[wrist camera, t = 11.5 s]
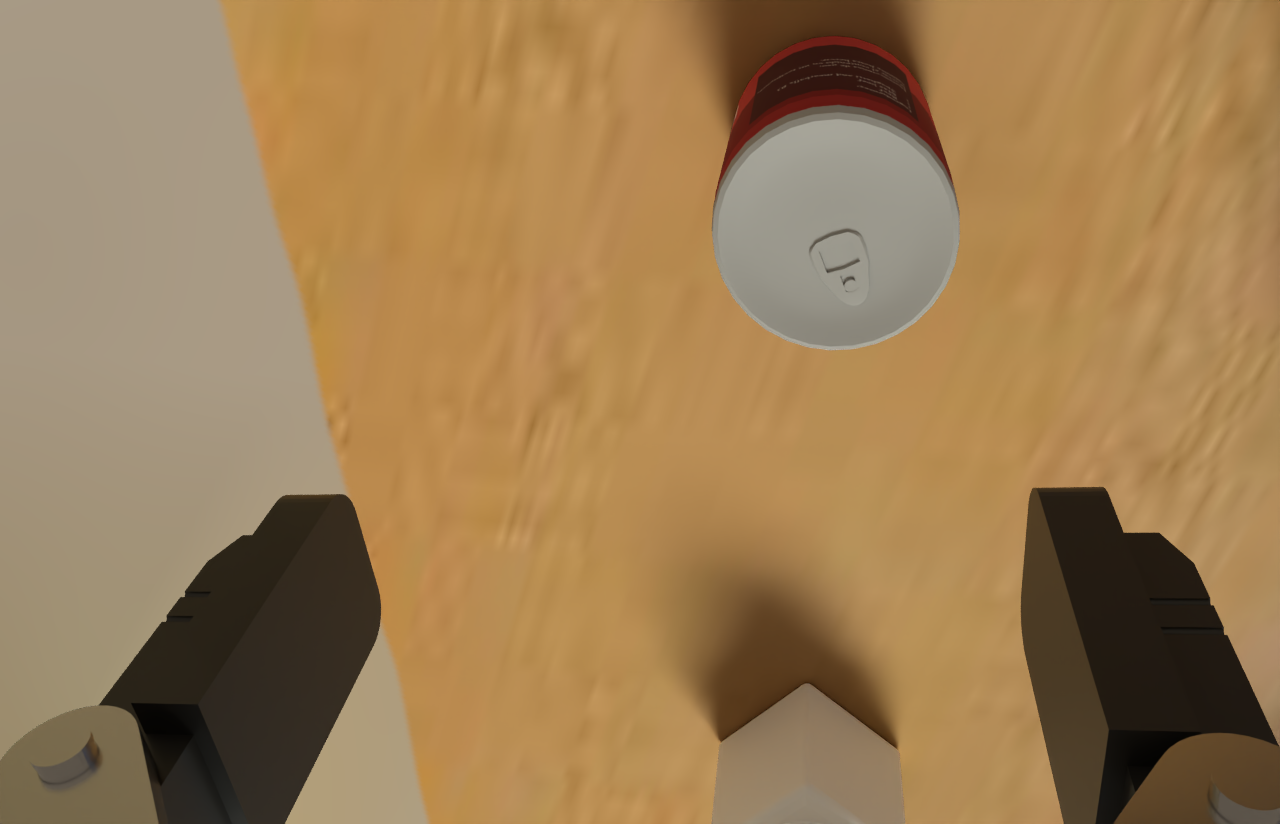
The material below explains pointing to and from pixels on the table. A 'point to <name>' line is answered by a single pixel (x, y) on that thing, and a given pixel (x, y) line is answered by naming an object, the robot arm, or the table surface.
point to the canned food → (835, 198)
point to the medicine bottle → (807, 768)
